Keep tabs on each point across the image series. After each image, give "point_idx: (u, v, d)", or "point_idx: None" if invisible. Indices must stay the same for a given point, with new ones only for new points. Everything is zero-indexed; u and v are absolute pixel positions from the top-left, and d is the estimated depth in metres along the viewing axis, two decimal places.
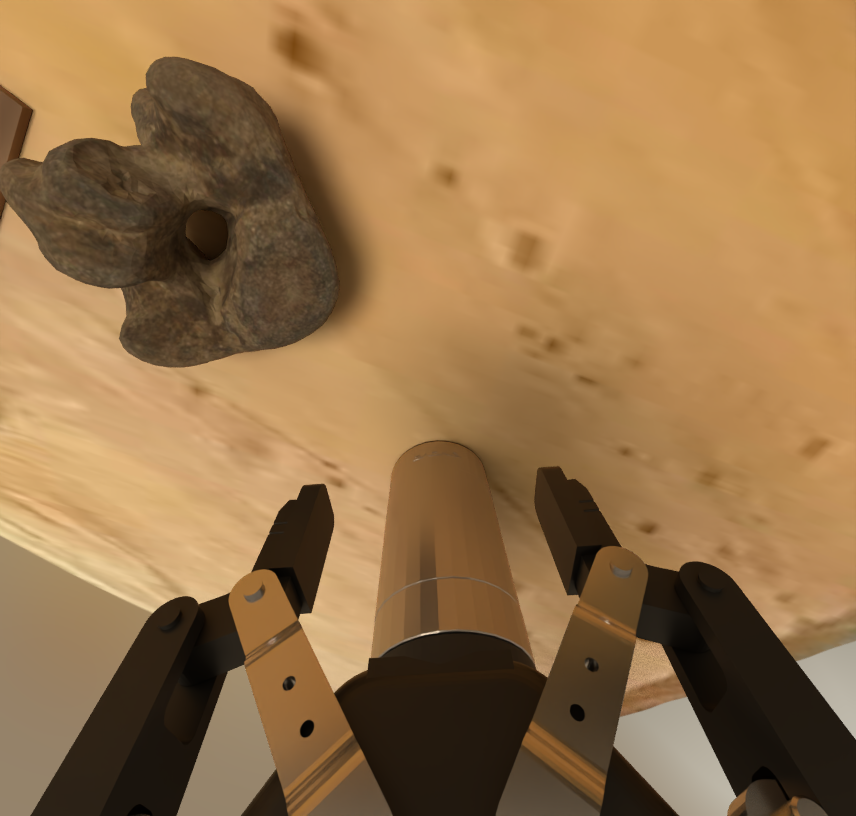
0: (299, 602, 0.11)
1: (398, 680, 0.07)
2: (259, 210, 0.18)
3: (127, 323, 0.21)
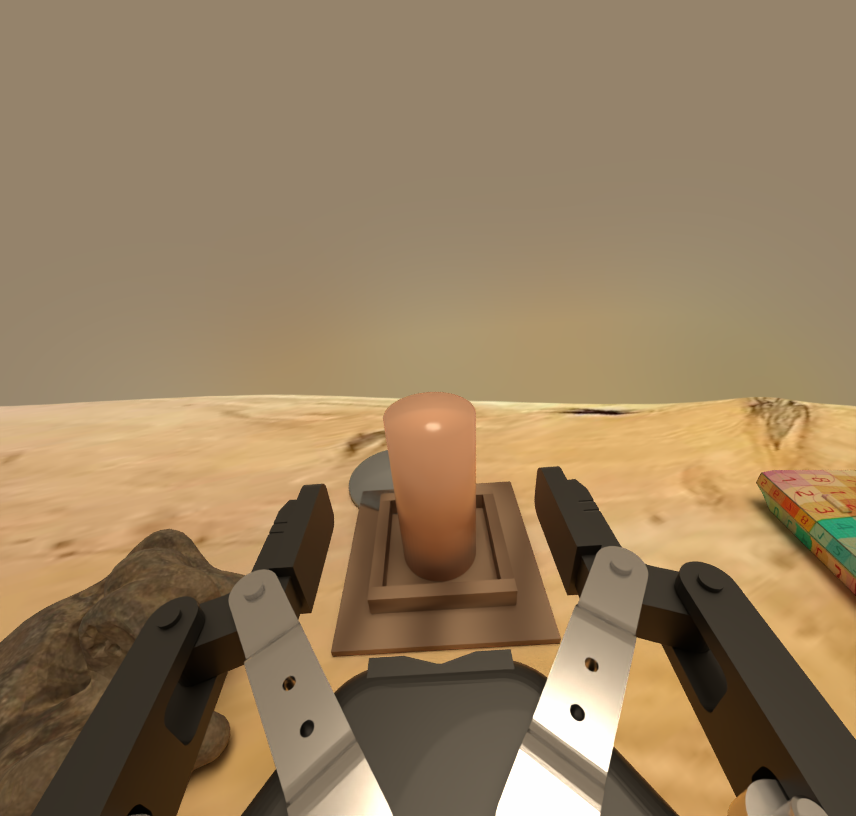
0: (299, 602, 0.11)
1: (398, 680, 0.07)
2: None
3: (181, 547, 0.27)
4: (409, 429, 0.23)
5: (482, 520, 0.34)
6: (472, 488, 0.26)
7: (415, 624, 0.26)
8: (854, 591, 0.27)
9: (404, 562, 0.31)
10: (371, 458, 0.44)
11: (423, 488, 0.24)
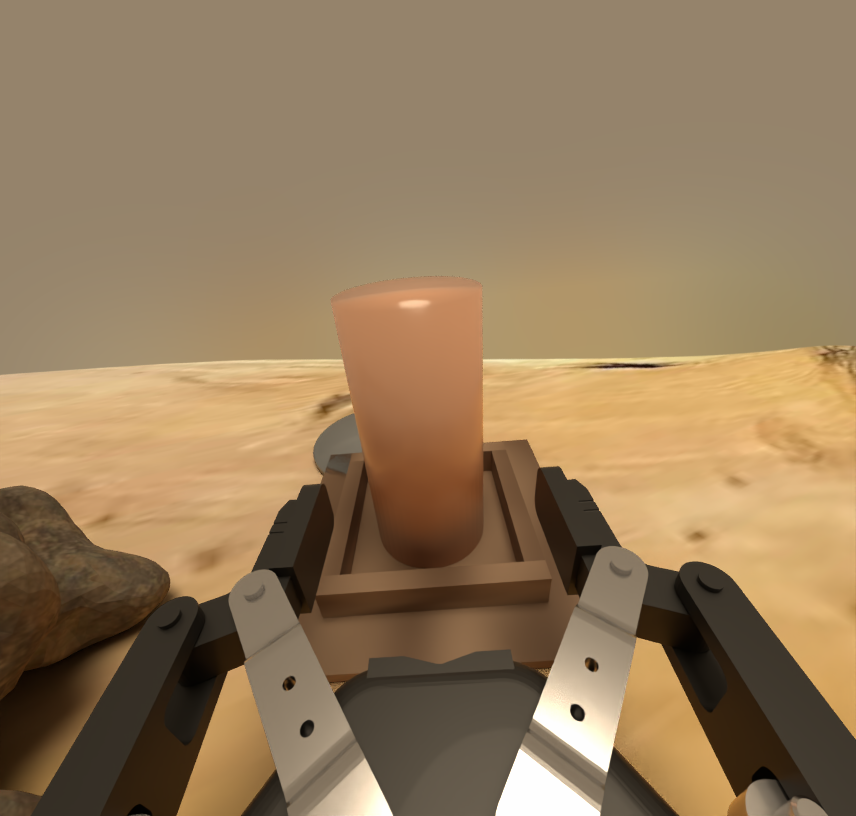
0: (299, 602, 0.11)
1: (398, 680, 0.07)
2: None
3: (35, 512, 0.17)
4: (370, 303, 0.14)
5: (491, 486, 0.25)
6: (477, 418, 0.17)
7: (390, 633, 0.17)
8: None
9: (379, 542, 0.21)
10: (346, 418, 0.34)
11: (396, 409, 0.15)
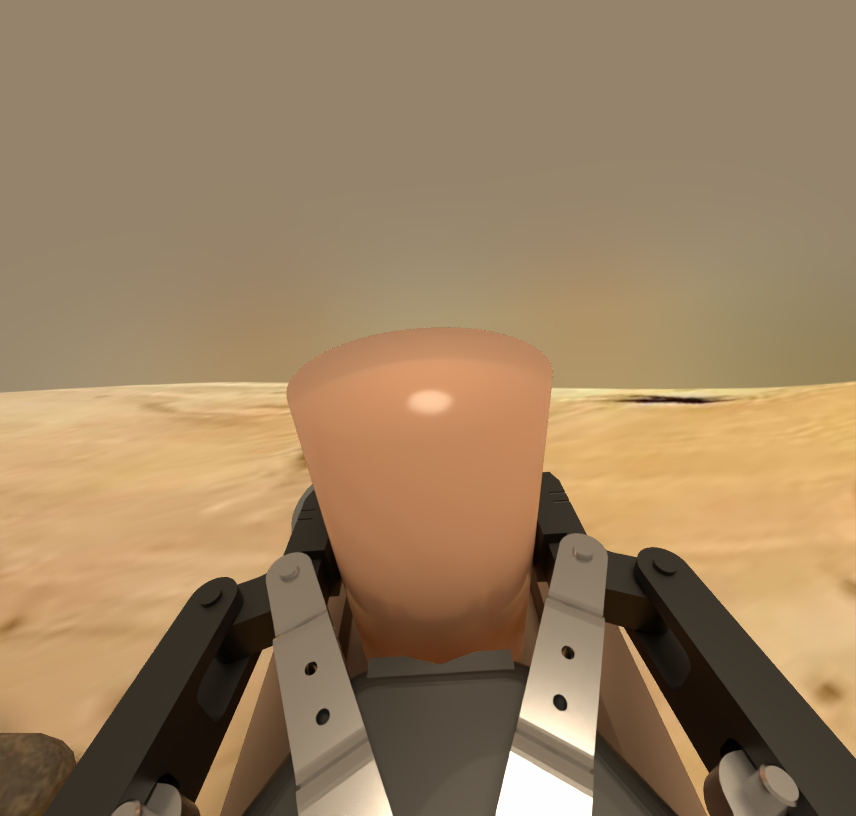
0: (328, 585, 0.11)
1: (398, 680, 0.07)
2: None
3: None
4: (355, 406, 0.07)
5: None
6: (530, 562, 0.10)
7: None
8: None
9: None
10: None
11: (401, 582, 0.08)
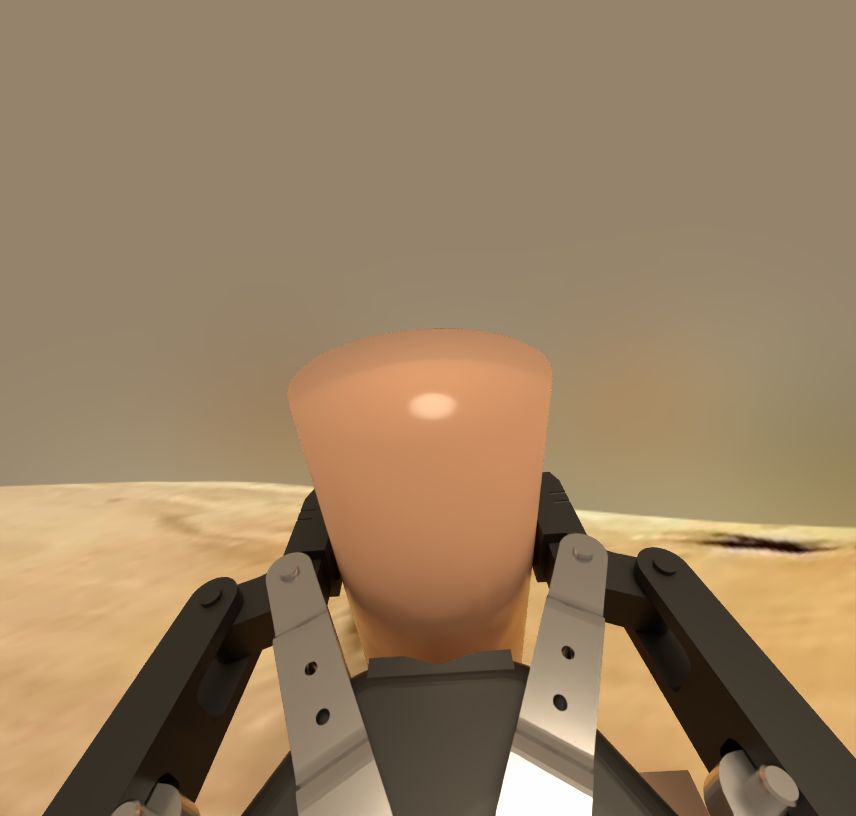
0: (328, 585, 0.11)
1: (398, 680, 0.07)
2: None
3: None
4: (356, 407, 0.07)
5: None
6: (530, 563, 0.10)
7: None
8: None
9: None
10: None
11: (402, 582, 0.08)
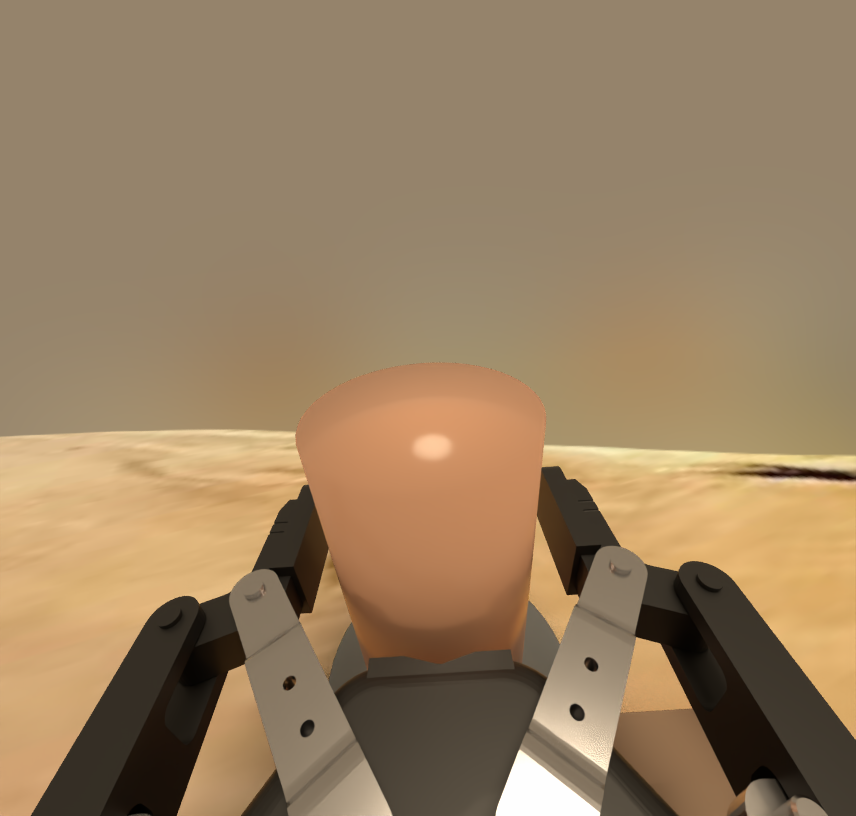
0: (299, 602, 0.11)
1: (398, 680, 0.07)
2: None
3: None
4: (360, 455, 0.08)
5: None
6: (527, 591, 0.11)
7: None
8: None
9: None
10: None
11: (404, 615, 0.09)
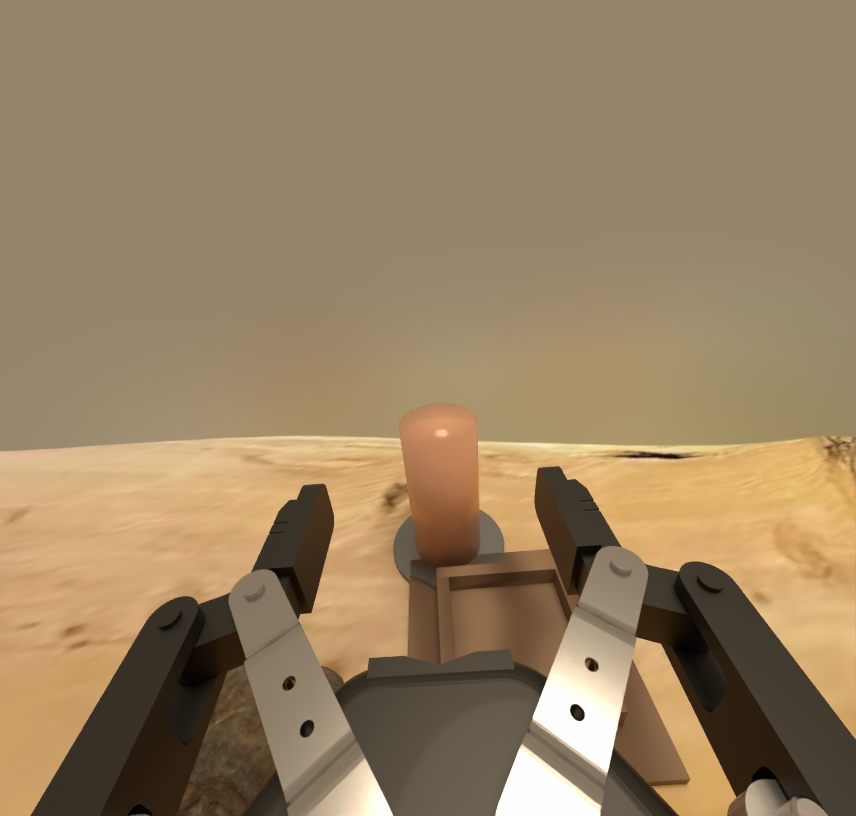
0: (299, 602, 0.11)
1: (398, 680, 0.07)
2: None
3: None
4: (421, 434, 0.28)
5: (556, 600, 0.30)
6: (475, 485, 0.31)
7: None
8: None
9: None
10: None
11: (433, 485, 0.29)
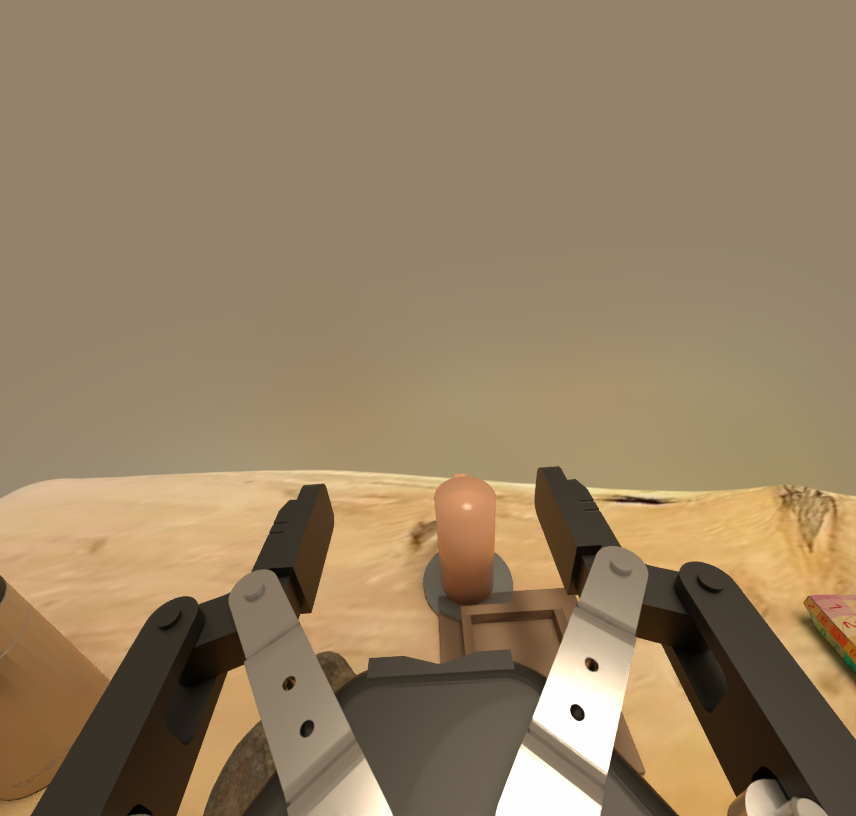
0: (299, 602, 0.11)
1: (398, 680, 0.07)
2: None
3: (341, 669, 0.32)
4: (453, 510, 0.36)
5: (554, 634, 0.38)
6: (493, 544, 0.39)
7: None
8: None
9: None
10: (438, 555, 0.48)
11: (461, 547, 0.37)
